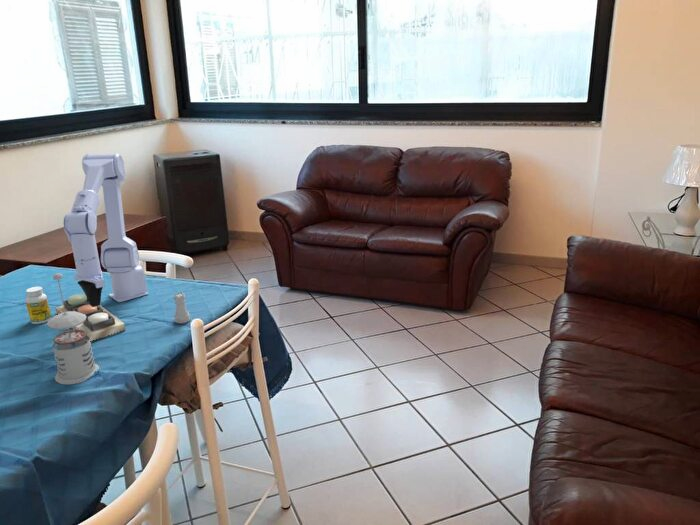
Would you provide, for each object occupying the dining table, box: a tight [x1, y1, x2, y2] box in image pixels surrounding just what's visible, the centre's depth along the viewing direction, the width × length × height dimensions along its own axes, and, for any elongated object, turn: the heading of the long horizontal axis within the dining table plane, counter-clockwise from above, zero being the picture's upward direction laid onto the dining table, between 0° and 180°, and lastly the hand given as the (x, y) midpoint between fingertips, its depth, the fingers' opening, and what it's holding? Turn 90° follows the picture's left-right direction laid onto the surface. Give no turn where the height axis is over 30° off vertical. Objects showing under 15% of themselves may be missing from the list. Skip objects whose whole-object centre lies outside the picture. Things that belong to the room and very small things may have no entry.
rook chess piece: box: [173, 292, 191, 325], centre depth 159 cm, size 4×4×8 cm
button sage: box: [66, 293, 87, 307], centre depth 165 cm, size 5×5×2 cm
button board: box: [55, 299, 126, 343], centre depth 161 cm, size 10×25×4 cm, turn 43°
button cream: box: [88, 313, 109, 324], centre depth 155 cm, size 5×5×2 cm
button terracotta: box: [77, 304, 98, 314], centre depth 160 cm, size 5×5×2 cm
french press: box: [46, 272, 100, 385], centre depth 131 cm, size 10×12×25 cm
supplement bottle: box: [25, 286, 52, 325], centre depth 161 cm, size 5×5×10 cm
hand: (95, 305), depth 153 cm, fingers closed
